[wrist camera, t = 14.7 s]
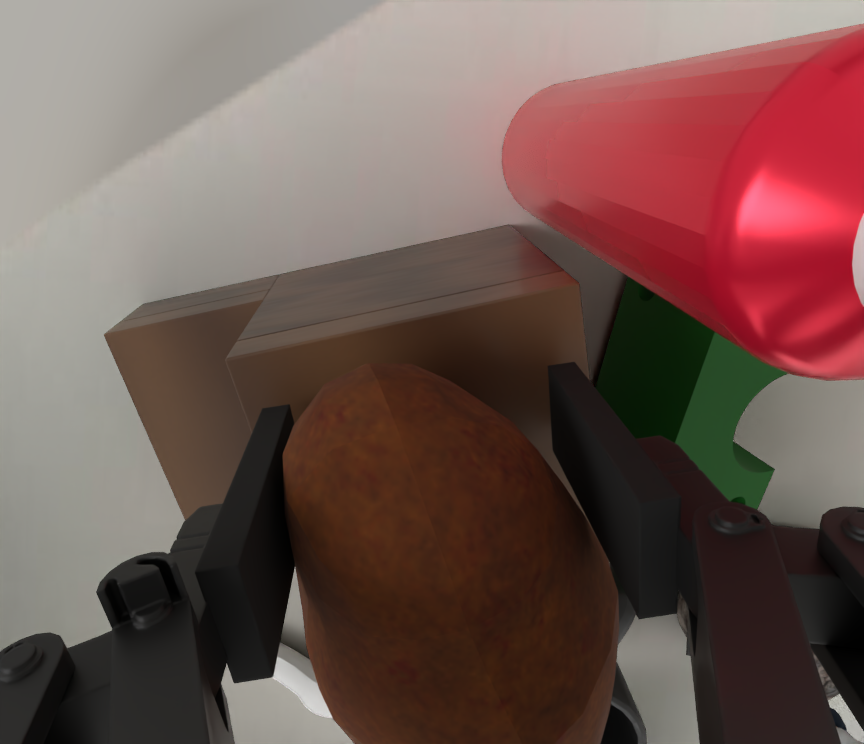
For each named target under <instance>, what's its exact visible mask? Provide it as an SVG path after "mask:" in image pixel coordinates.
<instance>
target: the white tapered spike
mask: <svg viewBox="0 0 864 744" xmlns="http://www.w3.org/2000/svg"><path fill="white" fill-rule="evenodd" d="M271 678H273V679H275V680H276V681H278V682H280V683H281V684H282V685H284V686H285V687H287V688H288V689H289V690H291V691H292V692H294V693H295V694H296V695H297V696H298V697H299V699H300V701H301V702H302V704H303V705H304V706H305V707H306V708H307V709H309V710H310V711H311V712H313V713H314V714H316V715H319V716H322V717H326V718H332V716H331V713H330V711H329V709H328V707H327V705H326V703H325V701H324V699H323V696H322V694H321V692H320V690H319V687H318V684H317V681H316V677H315V674H314V671H313V667H312V664H311V660H310V659H308V658H307V657H305V656H303V655H302V654H300V653H299V652H297V651H295V650H294V649H292V648H290V647H288V646H286V645H284V644H283V643H280V645H279V650H278V655H277V660H276V665H275V671H274V676H273V677H271Z"/></svg>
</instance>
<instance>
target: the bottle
mask: <svg viewBox="0 0 864 744" xmlns="http://www.w3.org/2000/svg"><path fill="white" fill-rule="evenodd" d="M502 166H503V173H504V177H505V180H506V183H507V186H508V189H509V190H510V192H511V194H512V195H513V197H514V199H515V200H516V201H517V202H518V203H519V204H520V206H521V207H522V208H523V209H525V210H526V211H527V212H529V213H530V214H532V215H533V216H535V217H536V218H538V219H539V220H541V221H542V222H544V223H545V224H547V225H549V226H550V227H552V228H553V229H555V230H556V231H558V232H560V233H561V234H563V235H564V236H566V237H567V238H569V239H571V240H572V241H574V242H575V243H577V244H578V245H580V246H581V247H583V248H585V249H586V250H588V251H589V252H591V253H592V254H594V255H596V256H597V257H599V258H600V259H602V260H603V261H605V262H606V263H608V264H610V265H611V266H613V267H614V268H616V269H617V270H619V271H621V272H622V273H624V274H625V275H627V276H628V277H630V278H631V279H633V280H635V281H636V282H638V283H639V284H641V285H642V286H644V287H646V288H647V289H649V290H650V291H652V292H653V293H655V294H656V295H658V296H660V297H661V298H663V299H664V300H666V301H667V302H669V303H671V304H672V305H674V306H675V307H677V308H678V309H680V310H682V311H683V312H685V313H686V314H688V315H689V316H691V317H692V318H694V319H696V320H697V321H699V322H700V323H702V324H703V325H705V326H707V327H708V328H710V329H711V330H713V331H714V332H716V333H717V334H719V335H721V336H722V337H724V338H725V339H727V340H728V341H730V342H732V343H733V344H735V345H736V346H738V347H739V348H741V349H742V350H744V351H746V352H747V353H749V354H750V355H752V356H753V357H755V358H757V359H758V360H760V361H761V362H763V363H765V364H768V365H770V366H772V367H775V368H777V369H780V370H782V371H784V372H787V373H789V374H792V375H796V376H802V377H808V378H813V379H819V380H826V381H836V380H864V24H859V25H854V26H849V27H844V28H839V29H834V30H829V31H824V32H818V33H813V34H808V35H803V36H798V37H793V38H788V39H783V40H778V41H773V42H767V43H762V44H757V45H752V46H747V47H742V48H737V49H732V50H727V51H722V52H716V53H711V54H706V55H701V56H696V57H691V58H686V59H681V60H676V61H671V62H665V63H660V64H655V65H650V66H645V67H640V68H635V69H630V70H625V71H620V72H614V73H609V74H604V75H599V76H594V77H589V78H584V79H579V80H574V81H569V82H564V83H559V84H554V85H552V86H550V87H547V88H545V89H543V90H541V91H539V92H538V93H537V94H535V95H534V96H532V97H531V98H529V100H528V101H527V102H526V103H525V104H524V105H523V106H522V107H521V108H520V109H519V110H518V112H517V113H516V115H515V116H514V118H513V119H512V121H511V123H510V126H509V128H508V130H507V132H506V135H505V140H504V144H503V150H502Z"/></svg>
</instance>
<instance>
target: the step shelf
mask: <svg viewBox="0 0 864 744" xmlns="http://www.w3.org/2000/svg"><path fill="white" fill-rule="evenodd" d="M104 336H105V339H106V341H107V343H108V346H109V348H110V350H111V352H112V355H113V357H114V359H115V361H116V364H117V366H118V368H119V371H120V373H121V375H122V377H123V380H124V382H125V384H126V386H127V389H128V391H129V393H130V396H131V398H132V400H133V402H134V405H135V407H136V409H137V411H138V414H139V416H140V418H141V421H142V423H143V425H144V427H145V430H146V432H147V434H148V437H149V439H150V441H151V443H152V446H153V448H154V450H155V452H156V455H157V457H158V459H159V462H160V464H161V466H162V468H163V471H164V473H165V475H166V477H167V480H168V482H169V484H170V487H171V489H172V491H173V493H174V496H175V498H176V500H177V502H178V505H179V507H180V509H181V512H182V514H183V516H184V518H185V520H187V519H188V518H189V517H190V516H191V515H192V514H193V513H194V512H195V511H196V510H197V509H198V508H199V507H202V506H208V505H215V504H222V503H223V502H224V499H225V497H226V495H227V492H228V490H229V487H230V485H231V483H232V480H233V478H234V475H235V473H236V470H237V468H238V466H239V463H240V461H241V458H242V456H243V453H244V451H245V449H246V446H247V444H248V441H249V439H250V437H251V434H252V432H253V429H254V427H255V424H256V422H257V420H258V417H259V415H260V412H261V410H262V408H268V407H274V406H281V405H288V404H290V408H291V412H292V416H293V420H294V424H295V423H296V421H297V420H298V419H299V417H300V416H301V415H302V413H303V412H304V411H305V409H306V408H307V407H308V405H309V404H310V403H311V401H312V400H313V399H314V397H315V396H316V395H317V393H318V392H319V391H320V389H321V388H322V387H323V385H324V384H326V383H328V382H330V381H332V380H334V379H336V378H338V377H340V376H343V375H345V374H347V373H349V372H351V371H353V370H355V369H357V368H358V367H360V366H362V365H364V364H368V363H400V364H413V365H416V366H418V367H420V368H423V369H425V370H427V371H429V372H432V373H434V374H436V375H438V376H441V377H443V378H445V379H448V380H450V381H452V382H453V383H455V384H456V385H458V386H459V387H461V388H462V389H464V390H465V391H467V392H468V393H470V394H471V395H473V396H474V397H476V398H477V399H479V400H480V401H482V402H483V403H485V404H486V405H488V406H489V407H491V408H492V409H494V410H495V411H497V412H498V413H500V414H501V415H503V416H504V417H506V418H507V419H509V420H511V421H512V422H513V423H514V424H515V426H516V427H517V428H518V429H519V430H520V431H521V432H522V433H523V434H524V435H525V437H526V438H527V439H528V440H529V441H530V442H531V443H532V444H533V445H534V446H535V448H536V449H537V450H538V451H539V452H540V454H541V455H542V456H543V458H544V459H545V460H546V462H547V463H548V464H549V466H550V467H551V468H552V470H553V471H554V472H555V474H556V475H557V476H558V478H559V479H560V480H561V482H562V483H563V484H564V486H565V487H566V489H567V490H568V492H569V493H570V495H571V496H572V498H573V499H574V501H575V502H576V504H577V505H578V507H579V508H580V509H581V511H582V512H583V514H584V515H585V513H584V511H583V509H582V507H581V505H580V503H579V501H578V499H577V497H576V495H575V493H574V491H573V489H572V487H571V485H570V484H569V482H568V480H567V478H566V476H565V474H564V472H563V470H562V468H561V466H560V464H559V462H558V460H557V458H556V456H555V454H554V452H553V448H552V431H551V414H550V397H549V380H548V366H549V365H556V364H562V363H569V362H575V363H576V364H577V365H578V367H579V368H580V369H581V370H582V372H583V373H584V374H585V376H586V377H587V378H588V379H589V381H590V377H589V368H588V358H587V349H586V340H585V330H584V321H583V312H582V302H581V293H580V284H579V282H577V281H576V280H575V279H574V278H572V277H571V276H570V275H569V274H568V273H566V272H565V271H564V270H563V269H562V268H561V267H560V266H558V265H557V264H556V263H555V262H554V261H552V260H551V259H550V258H549V257H547V256H546V255H545V254H544V253H543V252H541V251H540V250H539V249H538V248H537V247H535V246H534V245H533V244H532V243H531V242H529V241H528V240H527V239H526V238H525V237H523V236H522V235H521V234H520V233H518V232H517V231H516V230H515V229H514V228H512V227H511V226H510V225H505V226H501V227H496V228H491V229H487V230H482V231H477V232H473V233H468V234H464V235H459V236H454V237H450V238H445V239H441V240H436V241H431V242H427V243H422V244H418V245H413V246H408V247H404V248H399V249H395V250H390V251H385V252H381V253H376V254H371V255H367V256H362V257H358V258H353V259H348V260H344V261H339V262H335V263H330V264H325V265H321V266H316V267H312V268H307V269H302V270H298V271H293V272H289V273H284V274H280V275H274V276H270V277H265V278H261V279H256V280H251V281H247V282H242V283H238V284H233V285H228V286H224V287H219V288H215V289H210V290H205V291H201V292H196V293H192V294H187V295H182V296H178V297H173V298H168V299H164V300H159V301H155V302H150V303H145V304H142V305H141V306H140V307H139V308H137V309H136V310H135V311H133V312H132V313H131V314H130V315H128V316H127V317H126V318H124V319H123V320H122V321H120V322H119V323H118V324H117V325H115V326H114V327H113V328H112V329H110V330H109V331H108V332H106V333H105V334H104ZM585 517H586V515H585ZM586 518H587V517H586ZM587 520H588V519H587ZM588 522H589V521H588ZM589 524H590V523H589ZM590 526H591V525H590ZM591 528H592V527H591ZM592 529H593V528H592ZM593 531H594V530H593ZM594 533H595V532H594ZM595 535H596V534H595ZM596 537H597V536H596ZM597 539H598V538H597ZM598 541H599V540H598ZM599 543H600V542H599ZM606 557H607V556H606ZM607 560H608V558H607ZM608 563H609V560H608ZM609 566H610V564H609Z"/></svg>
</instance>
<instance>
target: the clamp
mask: <svg viewBox="0 0 864 744" xmlns="http://www.w3.org/2000/svg"><path fill="white" fill-rule="evenodd" d="M786 374H789V373H787V372H784V371H782V370H780V369H777V368H775V367H772V366H770V365H768V364H765V363H763V362H761V361H760V360H758V359H757V358H755V357H753V356H752V355H750V354H749V353H747V352H746V351H744V350H742V349H741V348H739V347H738V346H736V345H735V344H733V343H732V342H730V341H728V340H727V339H725V338H724V337H722V336H721V335H719V334H717V333H716V332H714V331H713V330H711V329H710V328H708V327H707V326H705V325H703V324H702V323H700V322H699V321H697V320H696V319H694V318H692V317H691V316H689V315H688V314H686V313H685V312H683V311H682V310H680V309H678V308H677V307H675V306H674V305H672V304H671V303H669V302H667V301H666V300H664V299H663V298H661V297H660V296H658V295H656V294H655V293H653V292H652V291H650V290H649V289H647V288H646V287H644V286H642V285H641V284H639V283H638V282H636V281H635V280H633V279H631V278H630V277H628V278H627V282H626V285H625V289H624V292H623V295H622V299H621V302H620V306H619V309H618V312H617V316H616V319H615V323H614V326H613V329H612V333H611V336H610V340H609V343H608V346H607V350H606V353H605V357H604V360H603V363H602V367H601V370H600V373H599V377H598V380H597V384H596V387H595V388H596V389H597V391H598V392H599V393H600V395H601V396H602V397H603V398H604V400H605V401H606V402H607V403H608V405H609V406H610V407H611V408H612V410H613V411H614V412H615V414H616V415H617V416H618V417H619V419H620V420H621V421H622V422H623V424H624V425H625V426H626V427H627V429H628V430H629V431H630V432H631V434H632V435H633V436H634V438H635V439H639V438H645V437H652V436H659V435H660V436H662V437H664V438H666V439H668V440H670V441H672V442H674V443H676V444H678V445H679V446H680V447H681V448H682V449H683V451H684V452H685V453H686V454H687V455H688V456H689V457H690V460H693V462H694V463H695V464H696V465H697V466H698V467H699V470H702V471H703V473H704V474H705V475H706V476H707V477H708V478H709V479H710V480H711V481H712V483H713V484H714V485H715V486H716V487H717V488H718V489H719V490H720V491H721V492H722V494H723V495H724V496H725V497H726V498H727V499H728V500H729V501H730V502H736V503H742V504H744V505H747V506H750V507H752V508H755V509H756V510H757V509H758V506H759V504H760V502H761V500H762V497H763V495H764V493H765V490H766V488H767V486H768V484H769V481H770V479H771V477H772V474H773V472H774V470H775V469H773V468H772V467H770V466H769V465H767V464H766V463H765V462H763V461H762V460H760V459H759V458H757V457H756V456H754V455H753V454H751V453H750V452H748V451H747V450H745V449H744V448H742V447H741V446H739V445H738V444H736V443H735V442H733V438H734V433H735V429H736V426H737V424H738V421H739V419H740V417H741V415H742V413H743V412H744V410H745V408H746V407H747V405H748V404H749V403H750V401H751V400H752V399H753V398H754V397H755V396H756V395H757V394H758V393H759V392H760V391H761V390H762V389H763V388H764V387H765V386H767V385H768V384H769V383H771V382H772V381H774V380H775V379H777V378H779V377H781V376H783V375H786Z"/></svg>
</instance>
